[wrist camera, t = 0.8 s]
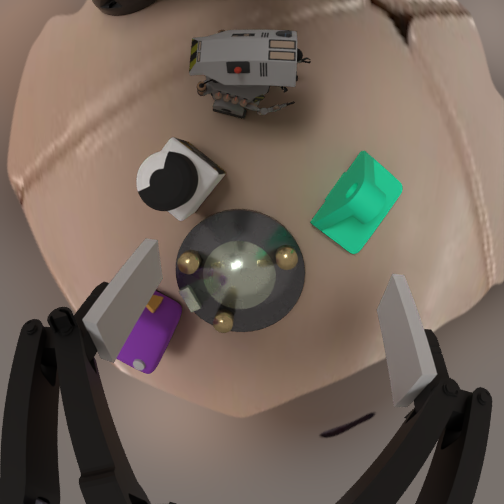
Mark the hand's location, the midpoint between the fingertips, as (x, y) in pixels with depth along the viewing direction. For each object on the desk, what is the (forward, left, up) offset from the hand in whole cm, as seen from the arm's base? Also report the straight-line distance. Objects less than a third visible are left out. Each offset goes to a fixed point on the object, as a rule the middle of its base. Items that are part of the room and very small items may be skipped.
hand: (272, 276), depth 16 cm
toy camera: (+5, -24, -25) cm, 35 cm away
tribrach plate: (+6, -7, -24) cm, 26 cm away
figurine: (-16, +6, -25) cm, 30 cm away
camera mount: (+4, +12, -25) cm, 28 cm away
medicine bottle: (-9, -7, -25) cm, 27 cm away
